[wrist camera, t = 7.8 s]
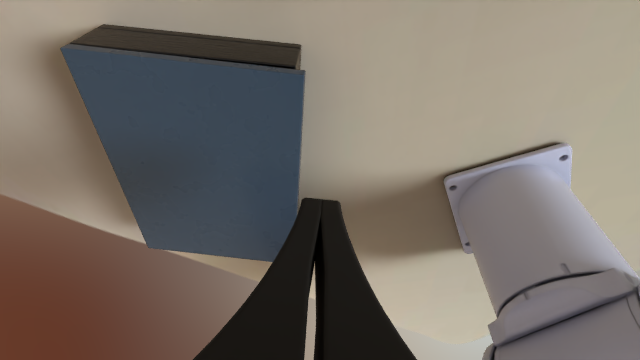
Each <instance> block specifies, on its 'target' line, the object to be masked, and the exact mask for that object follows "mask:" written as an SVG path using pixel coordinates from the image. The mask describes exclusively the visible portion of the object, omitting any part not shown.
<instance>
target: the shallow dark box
mask: <svg viewBox="0 0 640 360" xmlns="http://www.w3.org/2000/svg"><path fill="white" fill-rule="evenodd" d="M70 44H74V45H83V46H92V47H101V48H109V49H118V50H127V51H136V52H145V53H154V54H163V55H171V56H180V57H189V58H198V59H207V60H216V61H224V62H233V63H242V64H251V65H260V66H269V67H277V68H286V69H295V70H300V64H301V45H299V44H289V43H279V42H270V41H260V40H250V39H241V38H231V37H221V36H211V35H202V34H192V33H182V32H173V31H163V30H153V29H144V28H134V27H124V26H115V25H105V24H103V25H101V26H100V27H98V28H96V29H94V30H92V31H91V32H89V33H87V34H85V35H83V36H82V37H80V38H78V39H76V40H74V41H73V42H71V43H70Z"/></svg>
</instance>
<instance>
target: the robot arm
mask: <svg viewBox="0 0 640 360" xmlns="http://www.w3.org/2000/svg"><path fill="white" fill-rule="evenodd" d="M563 155H564V156H563ZM561 156H562V157H561ZM571 166H572V147H571V146H570V145H569V144H567V143H561V144H557V145H554V146H550V147H547V148H543V149H540V150H536V151H533V152H529V153H526V154H522V155H519V156H515V157H512V158H508V159H505V160H501V161H498V162H494V163H491V164H487V165H484V166H480V167H477V168H473V169H470V170H466V171H463V172H459V173H456V174H452V175H449V176H447V177H446V178H445V179H444V185H445V189H446V192H447V196H448V199H449V202H450V206H451V209H452V213H453V216H454V219H455V223H456V226H457V230H458V233H459V236H460V240H461V243H462V247H463V250H464V252H465V253H467V254H471V253H473V254H474V256H475V259H476V262H477V265H478V267H479V270H480V273H481V275H482V278H483V281H484V284H485V286H486V289H487V292H488V294H489V297H490V300H491V303H492V305H493V308H494V311H495V313H496V316H497V319H496V320H495V321H494V322H492V323H490V324H489V325H488V328H489V331H490V334H491V337H492V340H493V344H491V345H490V346H488V347H487V349H486V350H485V352H484V355H483V358H482V360H640V278H639V277H638V275H637V274H636V273H635V272H634V270H633V269H632V268H631V266H630V265H629V264H628V263H627V261H626V260H625V259H624V257H623V256H622V255H621V254H620V252H619V251H618V250H617V248H616V247H615V246H614V245H613V243H612V242H611V241H610V239H609V238H608V237H607V236H606V234H605V233H604V232H603V230H602V229H601V228H600V227H599V225H598V224H597V223H596V221H595V220H594V219H593V218H592V216H591V215H590V214H589V212H588V211H587V210H586V209H585V207H584V206H583V205H582V203H581V202H580V201H579V200H578V198H577V197H576V196H575V194H574V193H573V192H572V191H571ZM454 185H455V186H454ZM451 186H454V187H451ZM314 263H315V282H316V334H315V349H314V360H417V359H416V358H415V356H414V355H413V354H412V352H411V351H410V349H409V348H408V347H407V345H406V344H405V342H404V341H403V339H402V338H401V336H400V335H399V333H398V332H397V330H396V329H395V327H394V325H393V324H392V322H391V321H390V319H389V318H388V316H387V315H386V313H385V311H384V310H383V308H382V306H381V305H380V303H379V301H378V299H377V298H376V296H375V294H374V292H373V290H372V288H371V286H370V284H369V283H368V281H367V279H366V276H365V274H364V272H363V270H362V268H361V266H360V263H359V261H358V259H357V256H356V254H355V252H354V249H353V246H352V244H351V241H350V238H349V236H348V233H347V229H346V226H345V223H344V219H343V215H342V211H341V205H340V203H339V202H338V201H333V200H323V199H312V198H304V199H302V202H301V206H300V209H299V212H298V215H297V217H296V220H295V222H294V224H293V226H292V228H291V230H290V232H289V234H288V236H287V238H286V240H285V242H284V244H283V246H282V248H281V249H280V251H279V253H278V255H277V256H276V258H275V260H274V261H273V263H272V265H271V266H270V268H269V269H268V271H267V272H266V274H265V275H264V277H263V278H262V280H261V281H260V282H259V284H258V285H257V287H256V288H255V289H254V291H253V292H252V293H251V295H250V296H249V297H248V299H247V300H246V301H245V303H244V304H243V305H242V306H241V308H240V309H239V310H238V311H237V312H236V313H235V315H234V316H233V317H232V318H231V319H230V320H229V322H228V323H227V324H226V325H225V326H224V327H223V328H222V330H221V331H220V332H219V333H218V334H217V335H216V336H215V337H214V338H213V340H211V342H210V343H209V344H208V345H207V346H206V347H205V348H204V349H203V350H202V351H201V352H200V353H199V354H198V355H197V356H196V357H195V358H194V359H193V360H304V353H305V339H306V324H307V311H308V298H309V292H310V286H311V280H312V275H313V269H314Z"/></svg>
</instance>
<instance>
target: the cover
mask: <svg viewBox="0 0 640 360" xmlns="http://www.w3.org/2000/svg"><path fill="white" fill-rule="evenodd" d="M60 49H61V51H62V54H63V56H64V58H65V60H66V63H67V65H68V67H69V69H70V72H71V74H72V76H73V78H74V81H75V83H76V85H77V88H78V90H79V92H80V94H81V97H82V99H83V101H84V103H85V106H86V108H87V110H88V112H89V115H90V117H91V119H92V121H93V124H94V126H95V128H96V131H97V133H98V135H99V137H100V140H101V142H102V144H103V146H104V149H105V151H106V153H107V155H108V158H109V160H110V162H111V164H112V167H113V169H114V171H115V174H116V176H117V178H118V180H119V183H120V185H121V187H122V189H123V192H124V194H125V196H126V198H127V201H128V203H129V205H130V207H131V210H132V212H133V214H134V217H135V219H136V221H137V223H138V226H139V228H140V230H141V232H142V235H143V237H144V239H145V241H146V244H147V246H148V248H154V249H163V250H171V251H180V252H189V253H198V254H207V255H215V256H224V257H233V258H242V259H251V260H260V261H268V262H273V261H274V260H275V258H276V256H277V255H278V253H279V251H280V249H281V248H282V246H283V244H284V242H285V240H286V238H287V236H288V234H289V232H290V230H291V228H292V226H293V224H294V222H295V220H296V217H297V214H298V196H299V178H300V160H301V142H302V125H303V107H304V89H305V71H304V70H295V69H286V68H277V67H269V66H260V65H251V64H242V63H233V62H224V61H216V60H207V59H198V58H189V57H180V56H171V55H163V54H154V53H145V52H136V51H127V50H118V49H109V48H101V47H92V46H83V45H74V44H67V45H65V46H63V47H61V48H60Z"/></svg>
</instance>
